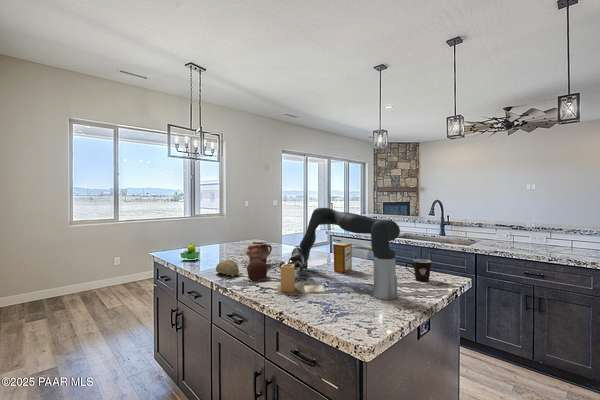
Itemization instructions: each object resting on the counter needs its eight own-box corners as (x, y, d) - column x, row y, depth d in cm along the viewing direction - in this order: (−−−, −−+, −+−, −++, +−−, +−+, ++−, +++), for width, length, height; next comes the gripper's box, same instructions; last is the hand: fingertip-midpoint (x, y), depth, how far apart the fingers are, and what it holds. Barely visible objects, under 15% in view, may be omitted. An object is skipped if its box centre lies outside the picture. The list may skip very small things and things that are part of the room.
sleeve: (283, 287, 142) (282, 263, 142) (295, 287, 142) (294, 264, 141) (280, 291, 137) (280, 266, 137) (293, 291, 136) (292, 267, 136)
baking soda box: (341, 268, 183) (341, 241, 183) (351, 269, 180) (351, 242, 179) (334, 271, 176) (333, 244, 175) (344, 273, 172) (344, 245, 171)
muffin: (242, 279, 161) (241, 261, 160) (258, 275, 169) (258, 257, 168) (256, 284, 152) (256, 264, 152) (273, 279, 161) (272, 260, 160)
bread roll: (223, 271, 180) (223, 257, 180) (243, 274, 172) (243, 260, 172) (211, 275, 171) (211, 260, 171) (231, 278, 164) (231, 263, 164)
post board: (323, 287, 147) (323, 265, 147) (327, 297, 133) (326, 273, 133) (277, 288, 146) (277, 266, 146) (276, 298, 132) (276, 274, 132)
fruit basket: (179, 261, 207) (179, 244, 207) (186, 258, 216) (186, 242, 215) (195, 261, 205) (194, 244, 205) (201, 258, 214) (201, 242, 214)
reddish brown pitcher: (264, 260, 207) (264, 239, 207) (277, 262, 199) (277, 241, 199) (241, 265, 192) (241, 243, 191) (254, 268, 184) (254, 245, 184)
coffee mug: (433, 279, 157) (433, 260, 157) (427, 283, 151) (427, 263, 151) (411, 275, 165) (411, 257, 165) (404, 279, 159) (404, 260, 159)
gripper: (283, 254, 167) (277, 261, 151) (309, 254, 165) (306, 261, 149) (283, 267, 167) (277, 276, 151) (309, 268, 165) (306, 277, 149)
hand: (291, 268), depth 150 cm, fingers open, 8 cm apart
